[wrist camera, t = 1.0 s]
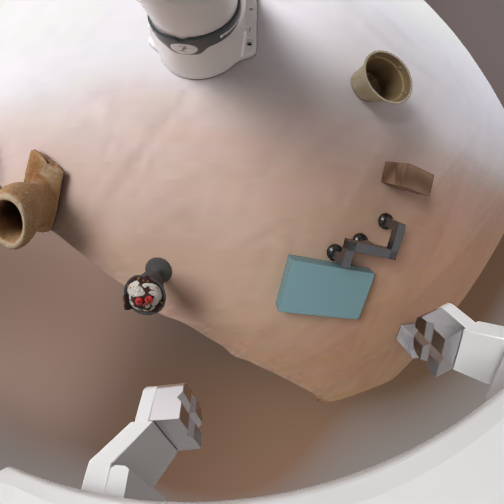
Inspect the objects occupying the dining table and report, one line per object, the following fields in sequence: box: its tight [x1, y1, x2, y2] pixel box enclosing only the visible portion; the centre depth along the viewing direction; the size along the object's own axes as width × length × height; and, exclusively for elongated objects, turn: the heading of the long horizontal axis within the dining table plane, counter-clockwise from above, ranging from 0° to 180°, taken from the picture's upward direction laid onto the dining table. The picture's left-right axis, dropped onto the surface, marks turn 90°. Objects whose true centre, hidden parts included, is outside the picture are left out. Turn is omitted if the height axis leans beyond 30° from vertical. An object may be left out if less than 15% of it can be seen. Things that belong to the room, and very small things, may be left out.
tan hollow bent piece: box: [0, 150, 64, 249], centre depth 35 cm, size 15×12×15 cm
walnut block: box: [381, 162, 434, 197], centre depth 43 cm, size 4×6×8 cm, turn 78°
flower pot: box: [351, 51, 412, 104], centre depth 37 cm, size 9×9×9 cm
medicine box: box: [396, 324, 418, 358], centre depth 55 cm, size 8×4×9 cm, turn 84°
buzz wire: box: [327, 213, 406, 268], centre depth 47 cm, size 11×12×6 cm
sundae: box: [123, 258, 171, 315], centre depth 42 cm, size 7×7×15 cm
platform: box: [276, 255, 375, 319], centre depth 51 cm, size 10×17×3 cm, turn 78°
